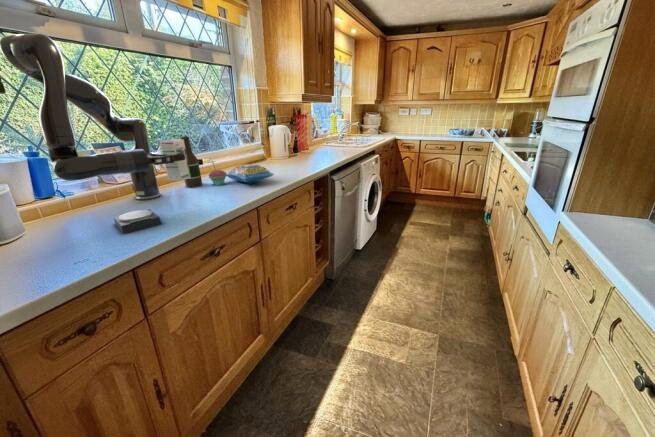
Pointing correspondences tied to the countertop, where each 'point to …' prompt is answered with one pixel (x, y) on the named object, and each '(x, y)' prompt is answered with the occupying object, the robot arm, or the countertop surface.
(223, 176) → the cupcake
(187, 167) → the syrup box
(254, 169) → the packet
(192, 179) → the beer bottle
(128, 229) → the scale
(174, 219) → the countertop surface
